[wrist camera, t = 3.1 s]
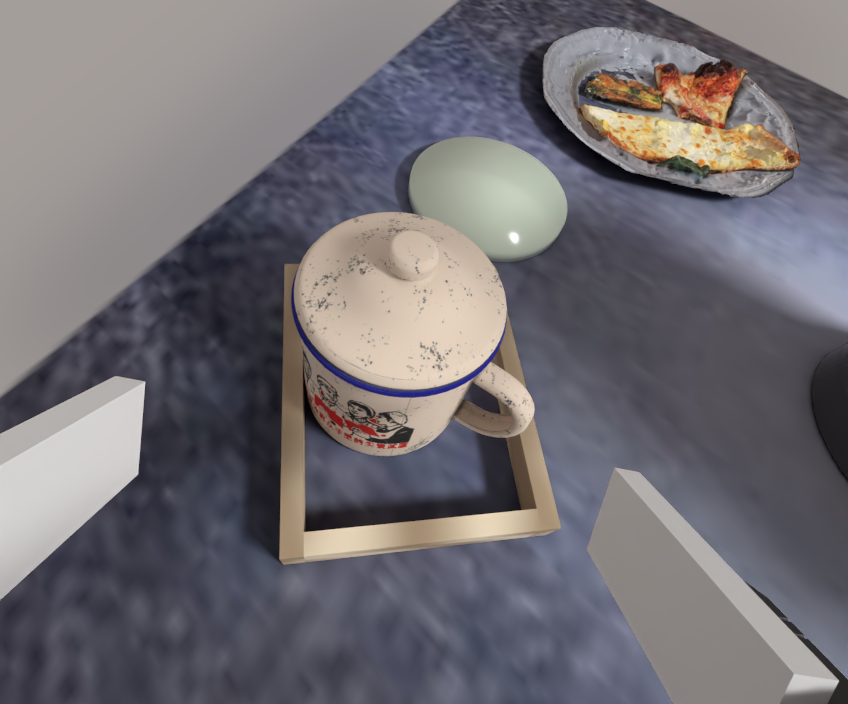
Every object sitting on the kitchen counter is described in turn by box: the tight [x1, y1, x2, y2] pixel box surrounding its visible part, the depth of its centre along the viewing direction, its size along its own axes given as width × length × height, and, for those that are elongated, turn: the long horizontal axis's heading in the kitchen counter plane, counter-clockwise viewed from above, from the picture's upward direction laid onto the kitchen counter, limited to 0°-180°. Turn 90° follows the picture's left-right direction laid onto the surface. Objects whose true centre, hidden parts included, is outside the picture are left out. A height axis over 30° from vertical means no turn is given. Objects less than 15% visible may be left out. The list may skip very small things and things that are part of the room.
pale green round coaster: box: [408, 137, 567, 262], centre depth 36 cm, size 12×12×1 cm
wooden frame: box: [279, 264, 561, 565], centre depth 26 cm, size 13×16×2 cm
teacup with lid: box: [291, 212, 535, 456], centre depth 22 cm, size 12×9×12 cm
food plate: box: [542, 27, 801, 198], centre depth 45 cm, size 25×23×4 cm
